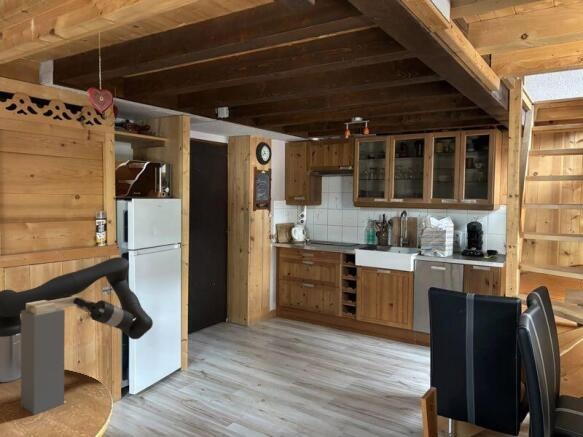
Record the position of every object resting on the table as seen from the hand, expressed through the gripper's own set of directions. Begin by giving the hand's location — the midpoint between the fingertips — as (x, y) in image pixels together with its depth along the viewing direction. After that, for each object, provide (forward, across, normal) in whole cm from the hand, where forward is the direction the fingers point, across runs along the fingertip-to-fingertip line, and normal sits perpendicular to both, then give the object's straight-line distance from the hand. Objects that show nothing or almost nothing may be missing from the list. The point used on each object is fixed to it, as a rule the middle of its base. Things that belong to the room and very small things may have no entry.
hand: (69, 298), depth 150 cm
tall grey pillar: (-10, 0, +34) cm, 36 cm away
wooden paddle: (+2, 0, +4) cm, 5 cm away
